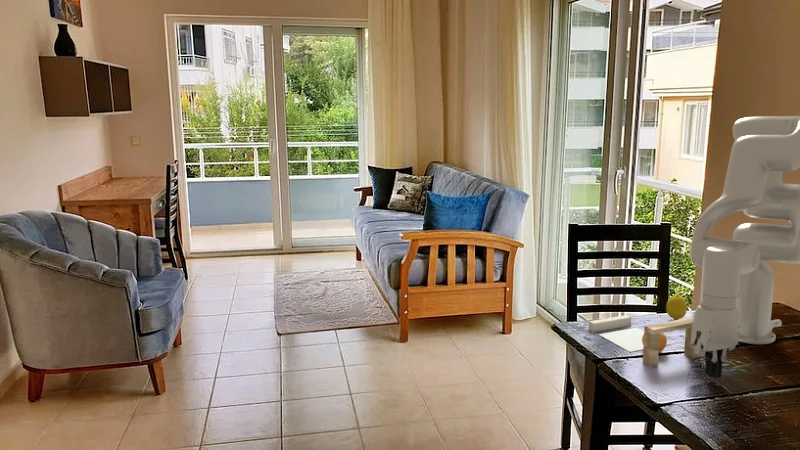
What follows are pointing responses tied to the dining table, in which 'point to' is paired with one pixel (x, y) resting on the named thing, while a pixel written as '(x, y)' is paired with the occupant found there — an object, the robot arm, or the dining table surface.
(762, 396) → the dining table surface
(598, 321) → the wall
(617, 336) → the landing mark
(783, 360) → the dining table surface
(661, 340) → the ball
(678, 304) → the lemon
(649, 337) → the bridge
